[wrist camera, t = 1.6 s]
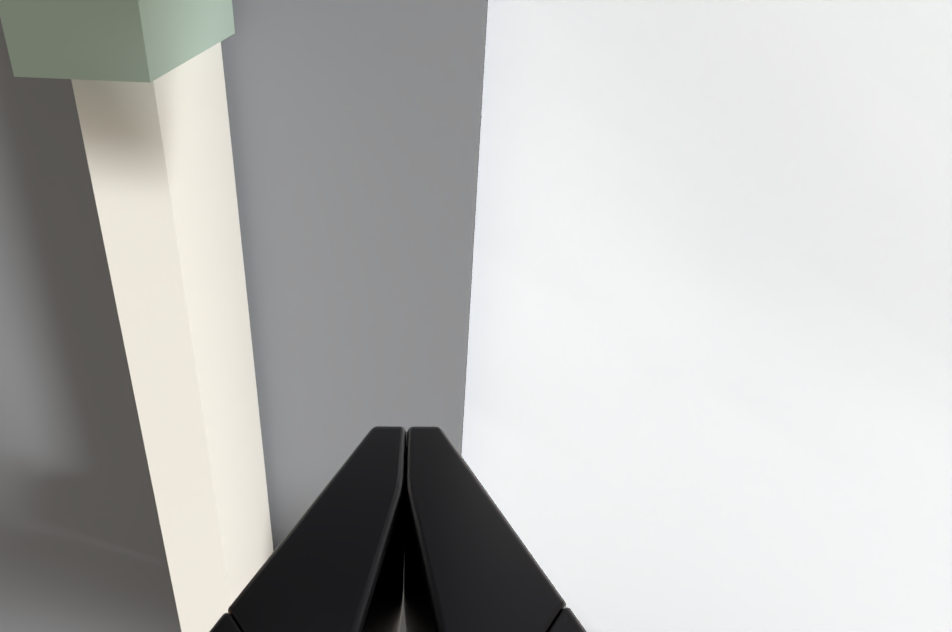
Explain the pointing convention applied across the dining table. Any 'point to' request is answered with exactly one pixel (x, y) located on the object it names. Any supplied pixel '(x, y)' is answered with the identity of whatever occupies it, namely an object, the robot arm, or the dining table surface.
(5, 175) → the mat
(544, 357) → the dining table surface
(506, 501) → the dining table surface
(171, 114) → the cream rectangular bar
